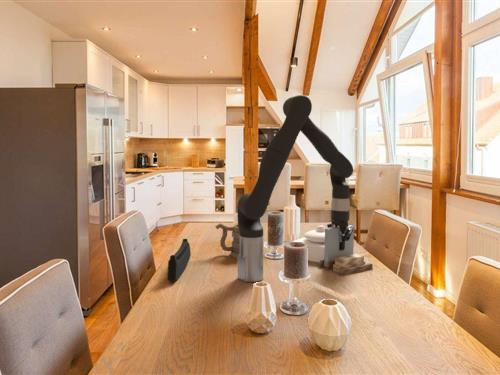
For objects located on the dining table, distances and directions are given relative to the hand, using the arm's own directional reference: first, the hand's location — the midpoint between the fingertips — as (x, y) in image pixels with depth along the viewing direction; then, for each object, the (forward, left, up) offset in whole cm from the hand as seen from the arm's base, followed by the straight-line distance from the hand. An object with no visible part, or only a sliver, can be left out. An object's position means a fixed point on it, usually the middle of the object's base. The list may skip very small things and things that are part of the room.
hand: (339, 249), depth 177 cm
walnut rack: (0, -4, -8) cm, 9 cm away
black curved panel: (-58, +31, -9) cm, 67 cm away
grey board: (0, 0, -7) cm, 7 cm away
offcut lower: (0, -6, -7) cm, 9 cm away
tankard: (-26, +41, -9) cm, 50 cm away
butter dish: (+2, +15, -9) cm, 18 cm away
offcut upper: (0, -6, -4) cm, 7 cm away
